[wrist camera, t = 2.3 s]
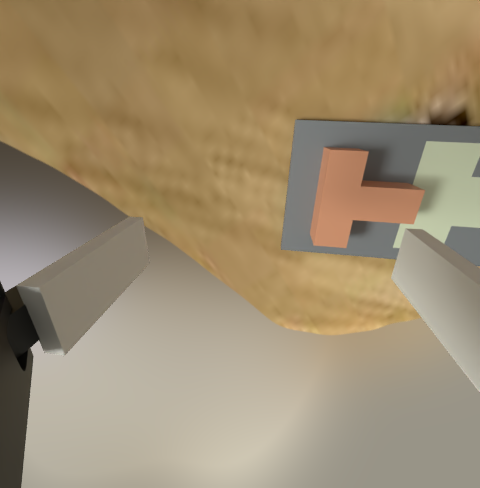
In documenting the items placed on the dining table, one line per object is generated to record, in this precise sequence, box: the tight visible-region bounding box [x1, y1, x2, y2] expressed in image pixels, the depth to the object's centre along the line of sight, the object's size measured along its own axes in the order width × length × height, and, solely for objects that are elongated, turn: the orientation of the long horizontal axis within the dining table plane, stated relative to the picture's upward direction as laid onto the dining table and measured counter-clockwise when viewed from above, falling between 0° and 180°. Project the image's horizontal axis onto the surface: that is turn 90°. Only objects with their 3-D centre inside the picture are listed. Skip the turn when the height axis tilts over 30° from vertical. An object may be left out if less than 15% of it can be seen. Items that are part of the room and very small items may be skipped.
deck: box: [281, 120, 480, 266], centre depth 29 cm, size 26×15×1 cm, turn 88°
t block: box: [310, 147, 425, 248], centre depth 28 cm, size 10×10×4 cm
